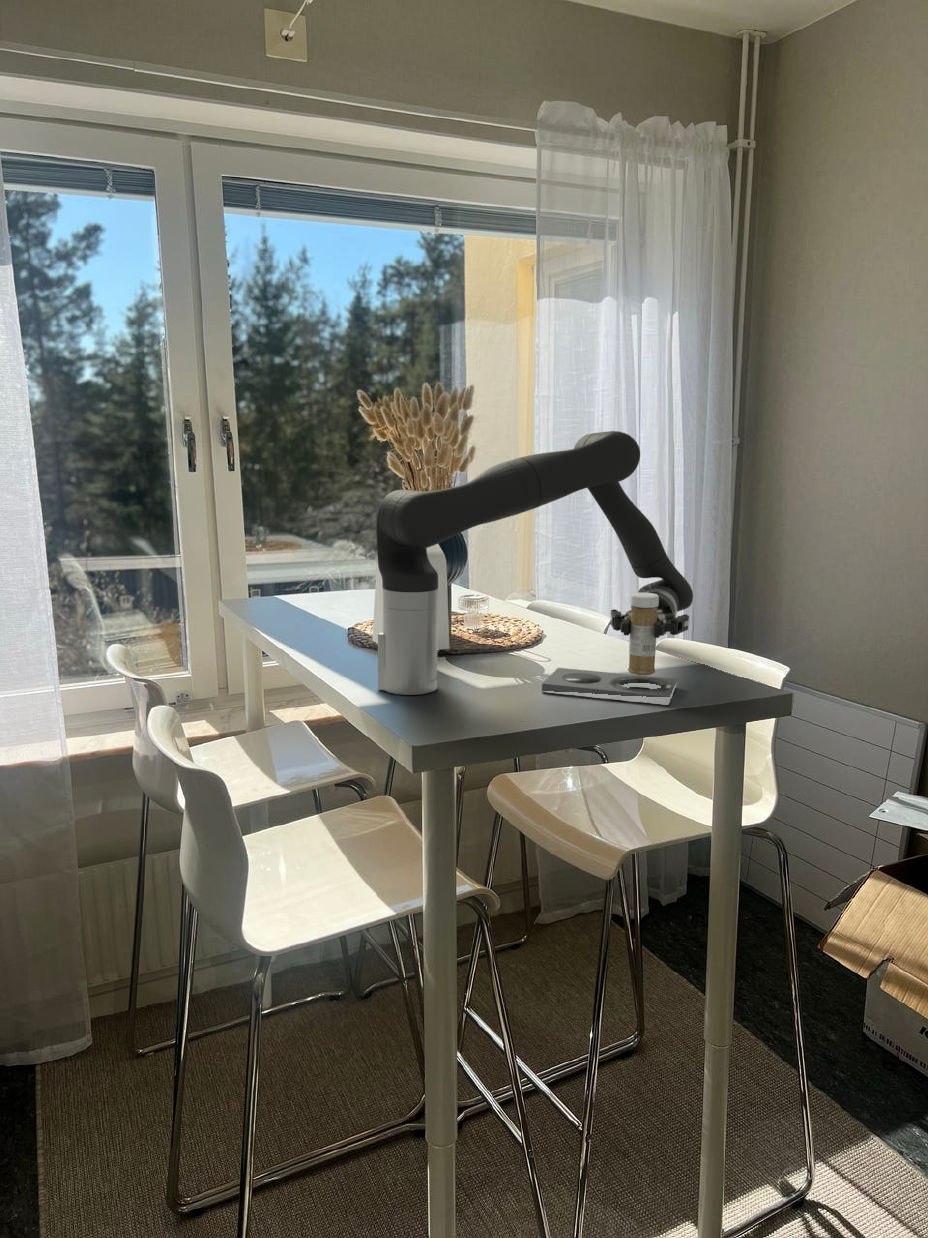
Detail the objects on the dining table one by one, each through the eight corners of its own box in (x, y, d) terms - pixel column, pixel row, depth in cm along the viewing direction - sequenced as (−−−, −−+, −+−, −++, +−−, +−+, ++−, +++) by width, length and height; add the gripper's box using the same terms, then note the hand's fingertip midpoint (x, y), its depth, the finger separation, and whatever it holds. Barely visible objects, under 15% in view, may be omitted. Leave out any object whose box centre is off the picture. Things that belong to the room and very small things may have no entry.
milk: (424, 639, 194) (425, 516, 189) (449, 650, 184) (451, 520, 179) (372, 644, 188) (371, 517, 183) (394, 655, 178) (395, 522, 173)
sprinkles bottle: (651, 669, 156) (654, 591, 153) (658, 676, 151) (662, 596, 148) (624, 669, 155) (628, 591, 153) (630, 676, 151) (634, 596, 148)
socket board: (541, 692, 153) (542, 682, 153) (557, 676, 164) (558, 667, 164) (668, 706, 146) (669, 695, 146) (676, 688, 158) (677, 678, 157)
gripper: (616, 589, 166) (599, 605, 151) (696, 594, 162) (687, 611, 146) (614, 629, 168) (597, 649, 152) (693, 635, 164) (684, 656, 148)
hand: (641, 630), depth 149 cm, fingers closed on sprinkles bottle, 4 cm apart
